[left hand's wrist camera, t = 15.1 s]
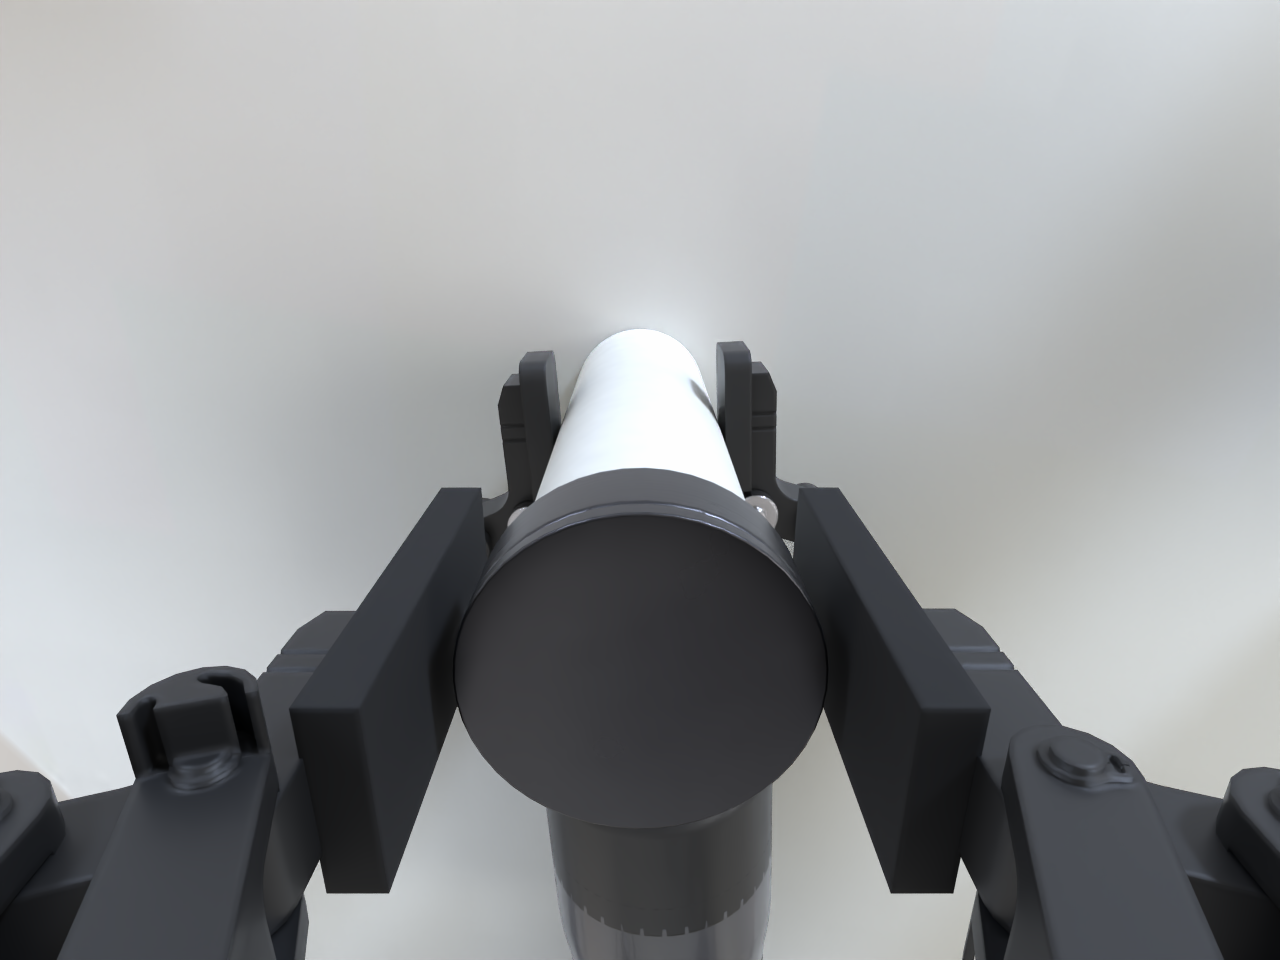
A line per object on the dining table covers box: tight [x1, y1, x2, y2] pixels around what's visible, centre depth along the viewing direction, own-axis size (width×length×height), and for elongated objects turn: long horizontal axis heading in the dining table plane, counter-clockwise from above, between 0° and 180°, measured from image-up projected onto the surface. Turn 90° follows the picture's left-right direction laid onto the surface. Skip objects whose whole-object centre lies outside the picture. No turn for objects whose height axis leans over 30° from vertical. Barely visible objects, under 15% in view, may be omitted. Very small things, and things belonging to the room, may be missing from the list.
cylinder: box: [535, 329, 745, 501], centre depth 19 cm, size 4×4×17 cm
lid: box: [453, 468, 829, 829], centre depth 11 cm, size 5×5×2 cm
